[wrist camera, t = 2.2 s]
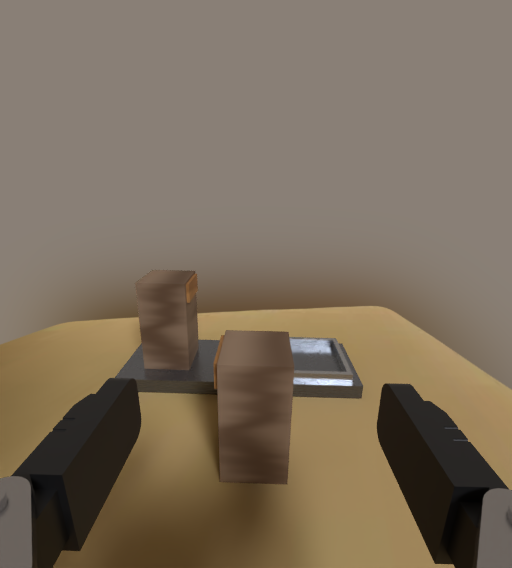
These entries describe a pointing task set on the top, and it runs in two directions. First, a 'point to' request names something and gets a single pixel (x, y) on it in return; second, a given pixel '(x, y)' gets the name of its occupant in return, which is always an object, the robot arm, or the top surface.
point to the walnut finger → (254, 405)
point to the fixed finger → (168, 318)
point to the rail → (307, 371)
